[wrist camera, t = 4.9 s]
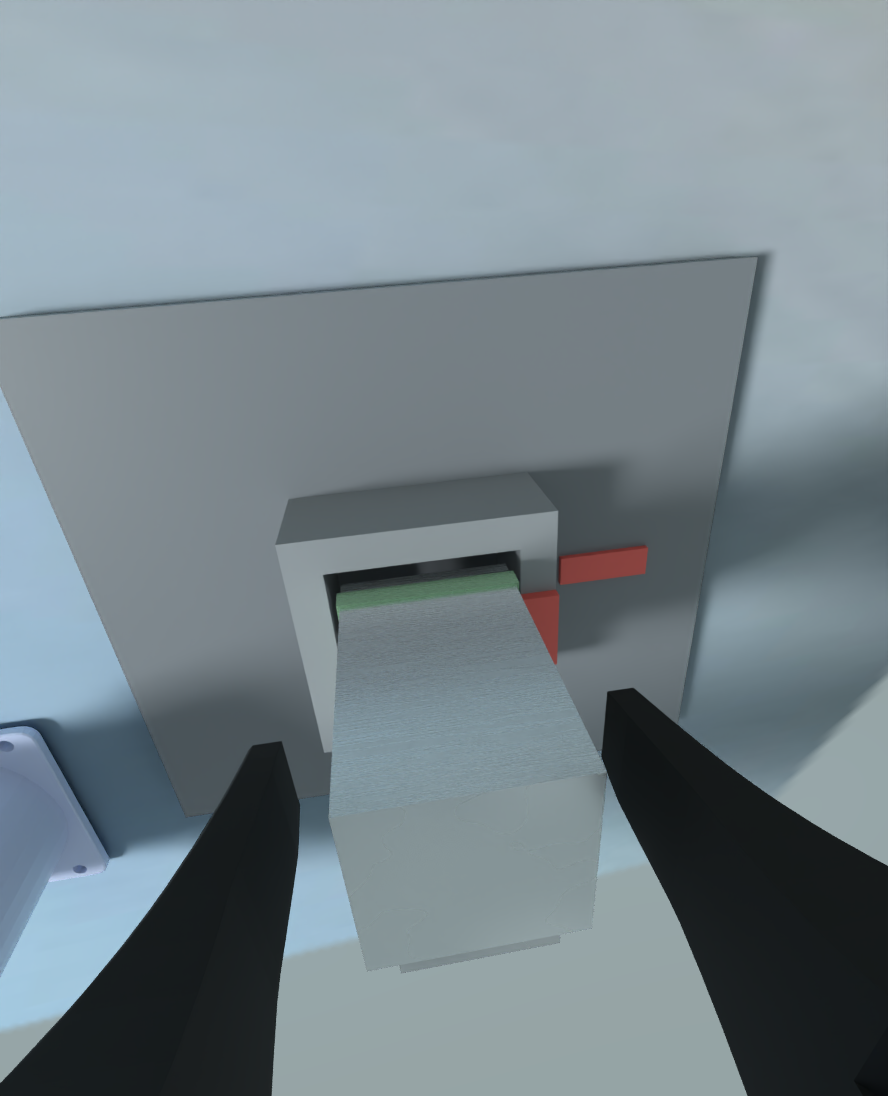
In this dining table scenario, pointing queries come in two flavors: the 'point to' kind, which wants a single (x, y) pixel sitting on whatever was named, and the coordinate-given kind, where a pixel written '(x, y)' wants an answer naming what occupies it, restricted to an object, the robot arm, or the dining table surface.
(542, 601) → the jack base
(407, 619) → the white rectangular block
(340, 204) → the dining table surface
